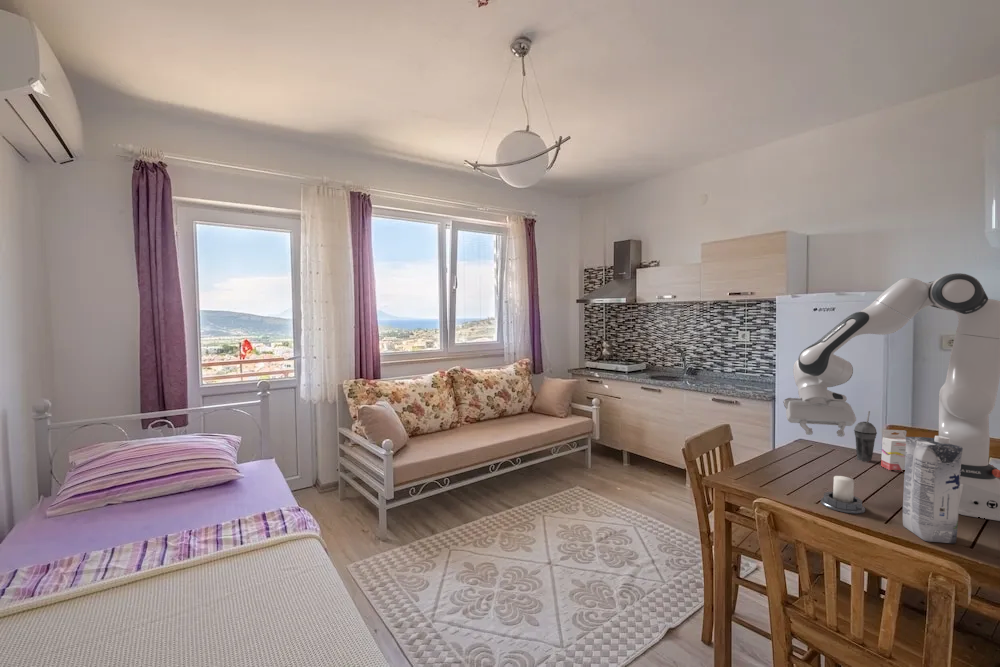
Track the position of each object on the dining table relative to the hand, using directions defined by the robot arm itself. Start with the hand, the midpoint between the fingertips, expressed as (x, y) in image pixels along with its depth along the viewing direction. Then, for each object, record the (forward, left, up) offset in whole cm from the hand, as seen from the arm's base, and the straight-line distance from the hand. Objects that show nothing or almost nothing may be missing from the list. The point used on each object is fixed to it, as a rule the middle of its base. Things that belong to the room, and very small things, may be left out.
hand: (825, 434), depth 154 cm
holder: (-6, +13, -18) cm, 23 cm away
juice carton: (-25, +21, -19) cm, 38 cm away
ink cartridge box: (-20, -41, -19) cm, 49 cm away
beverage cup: (-10, -47, -19) cm, 51 cm away
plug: (-6, +13, -18) cm, 23 cm away
